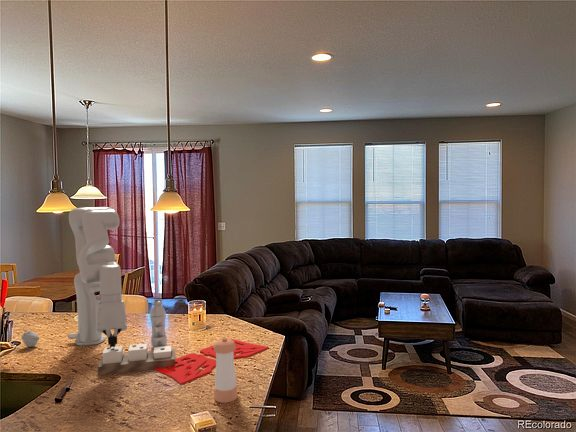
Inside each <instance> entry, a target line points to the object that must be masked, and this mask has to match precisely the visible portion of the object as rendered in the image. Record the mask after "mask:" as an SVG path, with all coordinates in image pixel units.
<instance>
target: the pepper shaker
mask: <svg viewBox="0 0 576 432" xmlns="http://www.w3.org/2000/svg"><path fill="white" fill-rule="evenodd" d="M213 345H214V347H213V348H214V349H213V350H214V351H215V352H216V358H215V360H216V367H215V373H214V387H213V399H214V401H216V402H218V403H222V404H225V403H231V402H234V401H235V400H237V398H238V386H237V374H236V369H235V361H234V360H235V359H234V355H233V351H234V350H235V348H236V345H235V343H234V341H232V340H230V338H226V337H223V338H221V339H219V340H216V341H215V343H214V344H213Z"/></svg>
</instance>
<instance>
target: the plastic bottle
mask: <svg viewBox="0 0 576 432" xmlns="http://www.w3.org/2000/svg"><path fill="white" fill-rule="evenodd" d="M152 306H153V307H152V308H151V309H150V312H149V317H150V323H151V338H150V343H151V344H150V345H151V346H152V348H154V347H164V346H167V343H168V339H167V334H166V314H167V312H166V310H165V308H164V306H163V300H162V299H155V300H153V302H152Z"/></svg>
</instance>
